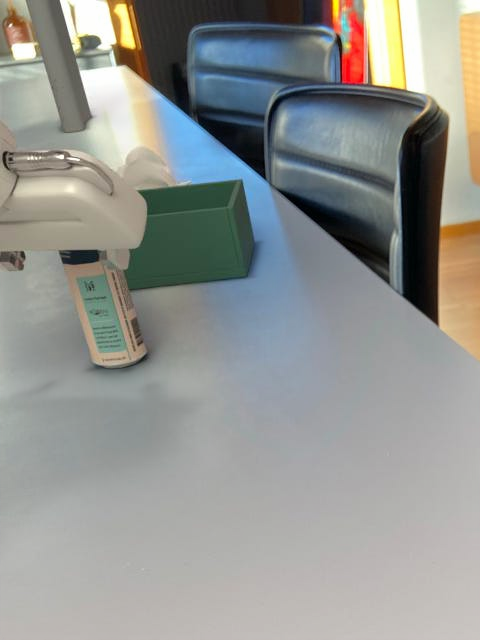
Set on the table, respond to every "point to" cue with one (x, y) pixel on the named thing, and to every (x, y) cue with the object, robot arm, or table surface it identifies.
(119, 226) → the robot arm
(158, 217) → the green storage bin
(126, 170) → the elephant figurine
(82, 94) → the gray upright slab
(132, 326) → the teal-label supplement bottle
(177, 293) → the table surface
